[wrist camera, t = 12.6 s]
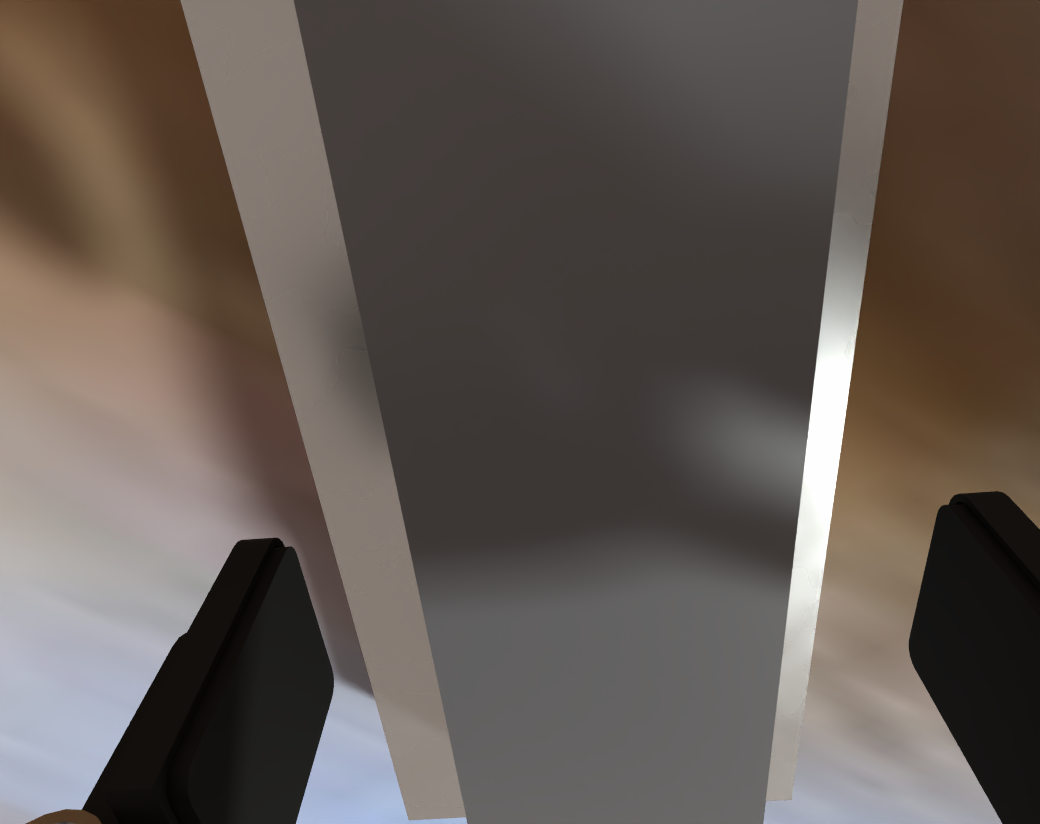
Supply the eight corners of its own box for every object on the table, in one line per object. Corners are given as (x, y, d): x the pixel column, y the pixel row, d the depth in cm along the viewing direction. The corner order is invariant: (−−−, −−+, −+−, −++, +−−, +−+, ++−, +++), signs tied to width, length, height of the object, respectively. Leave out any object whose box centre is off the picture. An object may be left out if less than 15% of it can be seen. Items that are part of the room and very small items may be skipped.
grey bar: (690, -122, 11) (887, -257, 5) (676, 689, 20) (743, 993, 14) (397, -89, 11) (254, -182, 5) (510, 699, 20) (505, 1003, 14)
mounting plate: (854, -299, 11) (958, -389, 8) (759, 703, 22) (791, 800, 19) (198, -217, 12) (102, -278, 9) (422, 723, 22) (408, 820, 20)
